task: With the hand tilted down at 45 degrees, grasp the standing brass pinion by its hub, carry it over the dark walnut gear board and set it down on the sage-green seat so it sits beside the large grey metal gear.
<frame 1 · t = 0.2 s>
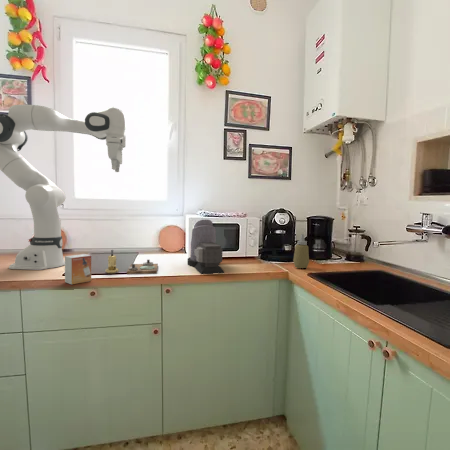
hand: (115, 170, 140), 47 cm above the countertop, tool pointing down, fingers open, 8 cm apart
small box: (78, 282, 113), on the countertop
juicer: (205, 267, 146), on the countertop
gear board: (143, 269, 135), on the countertop
squeeze bottle: (300, 268, 149), on the countertop
brass pinion: (112, 271, 129), on the countertop
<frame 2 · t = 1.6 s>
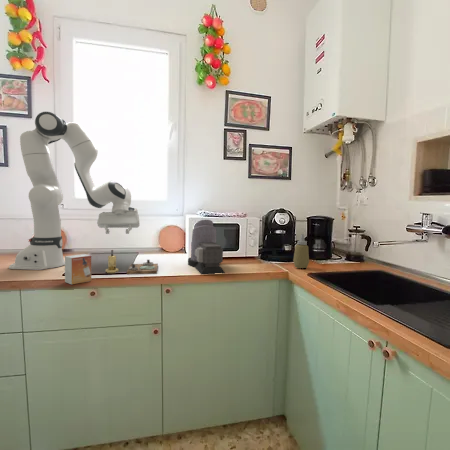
hand: (117, 233, 140), 17 cm above the countertop, tool tilted 45°, fingers open, 8 cm apart
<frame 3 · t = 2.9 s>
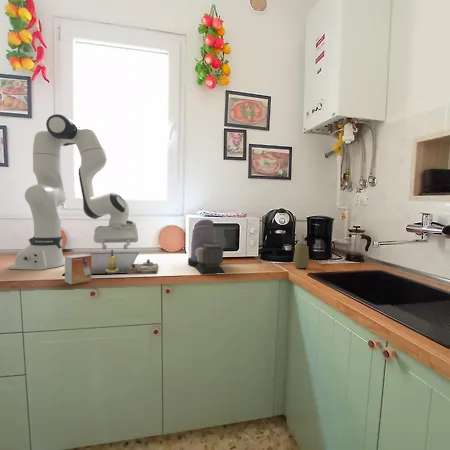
hand: (114, 248, 133), 10 cm above the countertop, tool tilted 45°, fingers open, 8 cm apart
nothing on the countertop moved.
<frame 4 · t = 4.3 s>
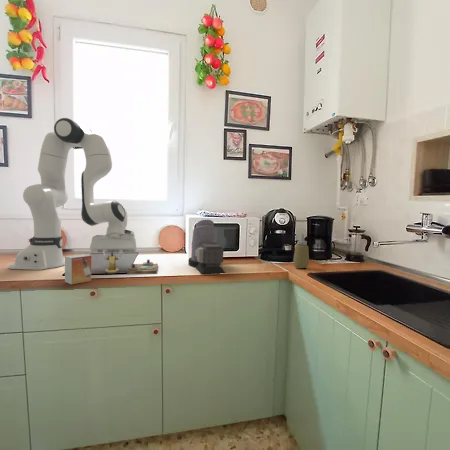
hand: (111, 259, 128), 6 cm above the countertop, tool tilted 45°, fingers closed on brass pinion, 3 cm apart
brass pinion: (112, 271, 129), on the countertop, touching gripper
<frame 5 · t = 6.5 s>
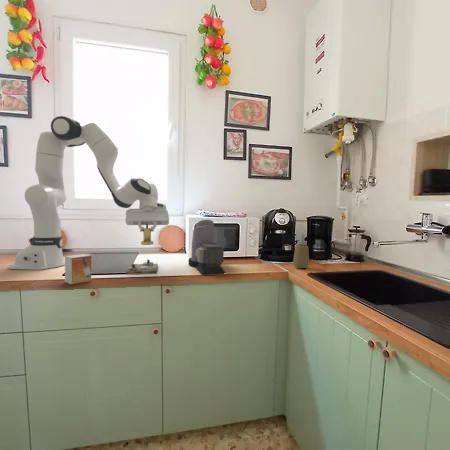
hand: (147, 230, 132), 19 cm above the countertop, tool tilted 45°, fingers closed on brass pinion, 3 cm apart
brass pinion: (147, 244, 133), point 13 cm above the countertop, touching gripper
when the fingers open (9 cm above the countertop, at t = 8.7 s): brass pinion stays where it is, resting on gear board.
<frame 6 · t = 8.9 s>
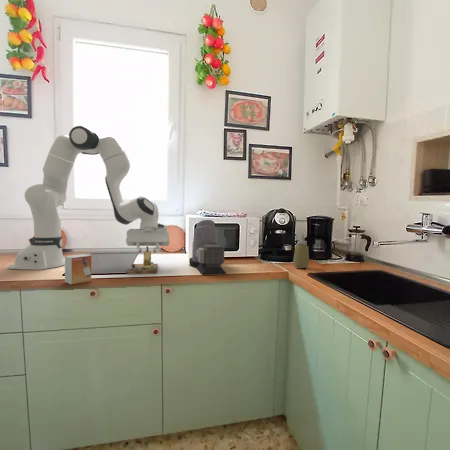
hand: (147, 252, 133), 9 cm above the countertop, tool tilted 45°, fingers open, 5 cm apart
brass pinion: (147, 267, 134), point 1 cm above the countertop, touching gear board
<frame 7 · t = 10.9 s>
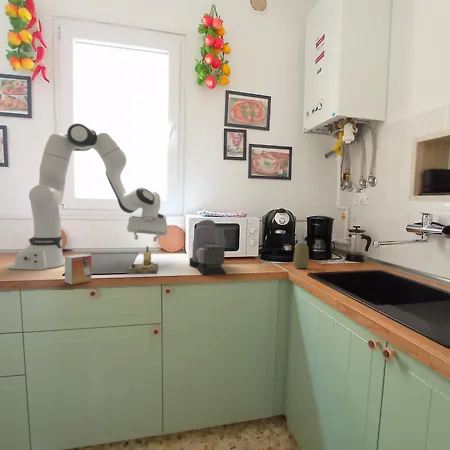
hand: (145, 239, 144), 13 cm above the countertop, tool tilted 40°, fingers open, 8 cm apart
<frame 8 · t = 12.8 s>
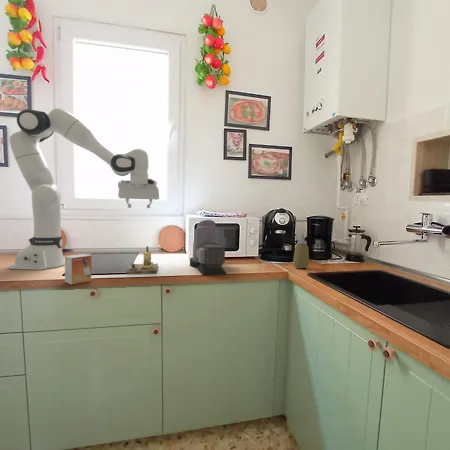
hand: (139, 207, 147), 29 cm above the countertop, tool pointing down, fingers open, 8 cm apart
at the end: brass pinion inside the target area on the gear board (0.1 cm from its centre), point 1.5 cm above the gear board's base; brass pinion tilted 0°; the gripper is holding nothing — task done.
